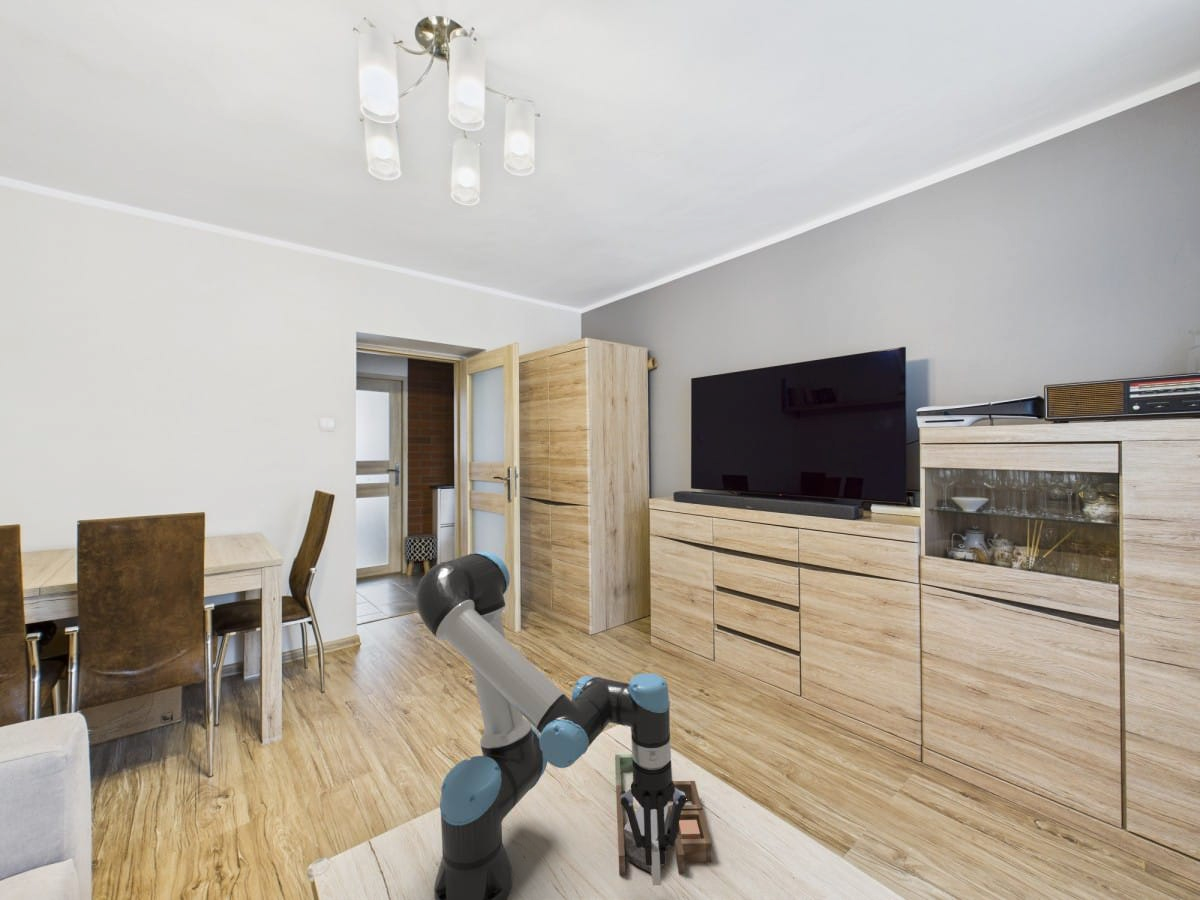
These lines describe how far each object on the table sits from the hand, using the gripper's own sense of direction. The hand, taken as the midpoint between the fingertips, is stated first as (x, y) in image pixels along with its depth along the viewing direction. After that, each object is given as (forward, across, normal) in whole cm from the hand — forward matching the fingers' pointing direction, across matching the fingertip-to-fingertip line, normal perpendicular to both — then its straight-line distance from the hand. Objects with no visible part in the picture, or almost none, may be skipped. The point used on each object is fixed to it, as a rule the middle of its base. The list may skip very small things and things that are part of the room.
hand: (656, 879), depth 98 cm
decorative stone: (+4, 0, +13) cm, 13 cm away
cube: (+4, +9, +13) cm, 16 cm away
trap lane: (+4, +3, +22) cm, 23 cm away
